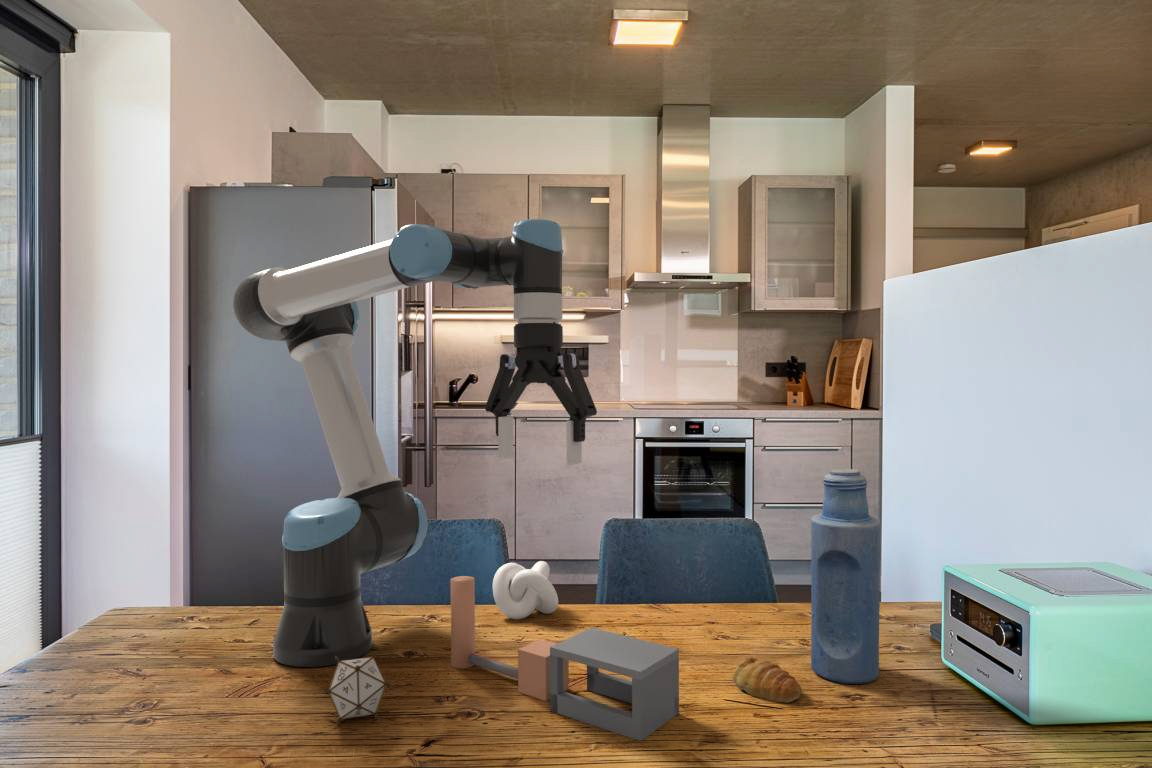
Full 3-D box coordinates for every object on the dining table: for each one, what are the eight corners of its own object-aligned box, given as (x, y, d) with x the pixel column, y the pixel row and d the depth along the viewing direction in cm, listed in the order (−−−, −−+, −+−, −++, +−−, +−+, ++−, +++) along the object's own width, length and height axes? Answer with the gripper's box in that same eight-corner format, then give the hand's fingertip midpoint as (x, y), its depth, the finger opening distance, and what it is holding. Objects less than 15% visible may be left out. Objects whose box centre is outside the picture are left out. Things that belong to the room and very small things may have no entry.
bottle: (885, 668, 118) (887, 468, 117) (871, 691, 110) (872, 476, 109) (821, 655, 123) (822, 463, 122) (802, 676, 115) (803, 471, 114)
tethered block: (442, 666, 120) (442, 580, 119) (466, 656, 124) (466, 573, 123) (545, 701, 107) (545, 606, 107) (568, 688, 111) (568, 597, 111)
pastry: (812, 697, 109) (812, 669, 109) (782, 711, 104) (782, 683, 104) (757, 676, 116) (757, 650, 116) (727, 688, 112) (727, 662, 112)
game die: (365, 751, 101) (367, 710, 95) (307, 722, 103) (306, 679, 97) (401, 694, 108) (406, 651, 102) (347, 667, 110) (349, 624, 104)
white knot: (503, 601, 152) (502, 555, 151) (565, 603, 150) (564, 557, 150) (488, 620, 140) (488, 570, 140) (555, 623, 139) (554, 573, 139)
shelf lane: (550, 710, 104) (549, 647, 104) (591, 687, 112) (591, 627, 111) (640, 741, 96) (640, 671, 95) (678, 713, 103) (678, 648, 103)
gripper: (619, 320, 117) (619, 463, 117) (494, 325, 132) (495, 452, 132) (589, 318, 111) (590, 469, 111) (462, 324, 126) (463, 457, 126)
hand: (539, 460), depth 122 cm, fingers open, 13 cm apart
